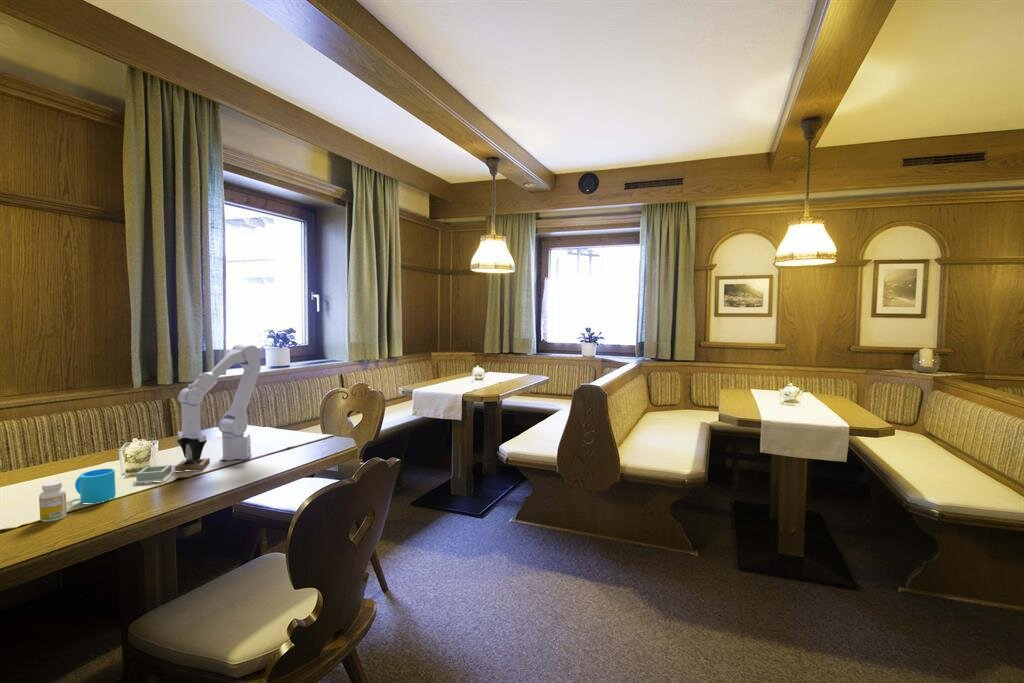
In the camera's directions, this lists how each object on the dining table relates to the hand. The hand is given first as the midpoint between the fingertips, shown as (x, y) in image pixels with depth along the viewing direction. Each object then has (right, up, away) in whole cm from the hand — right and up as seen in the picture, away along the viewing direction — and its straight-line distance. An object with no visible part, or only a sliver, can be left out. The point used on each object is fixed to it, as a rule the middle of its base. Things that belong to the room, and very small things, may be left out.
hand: (192, 458), depth 181 cm
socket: (0, -3, 0) cm, 3 cm away
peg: (0, -3, 0) cm, 3 cm away
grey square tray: (-5, -4, -12) cm, 14 cm away
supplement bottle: (-10, -6, -44) cm, 46 cm away
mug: (-11, -5, -30) cm, 32 cm away
